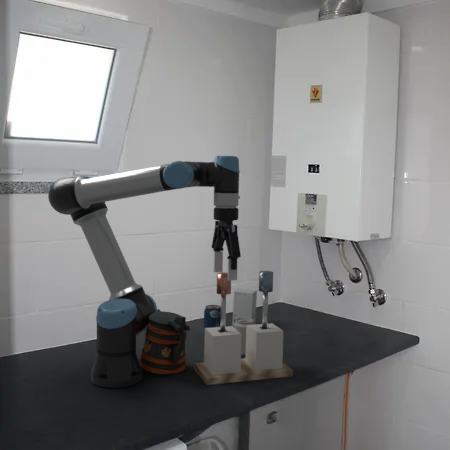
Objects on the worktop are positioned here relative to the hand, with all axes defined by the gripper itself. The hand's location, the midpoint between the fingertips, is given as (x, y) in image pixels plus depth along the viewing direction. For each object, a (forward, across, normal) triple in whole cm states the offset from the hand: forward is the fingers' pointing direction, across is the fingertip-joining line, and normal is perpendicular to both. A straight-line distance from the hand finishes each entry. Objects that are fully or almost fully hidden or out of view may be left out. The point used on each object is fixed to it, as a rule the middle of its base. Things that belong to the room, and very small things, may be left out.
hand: (225, 276), depth 181 cm
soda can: (+31, +38, -9) cm, 50 cm away
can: (+31, +18, -14) cm, 39 cm away
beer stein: (+31, +8, +16) cm, 36 cm away
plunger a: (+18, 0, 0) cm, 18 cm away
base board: (+31, 0, -7) cm, 32 cm away
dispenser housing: (+29, 0, -7) cm, 30 cm away
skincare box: (+31, +47, -25) cm, 62 cm away
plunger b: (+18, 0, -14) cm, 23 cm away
